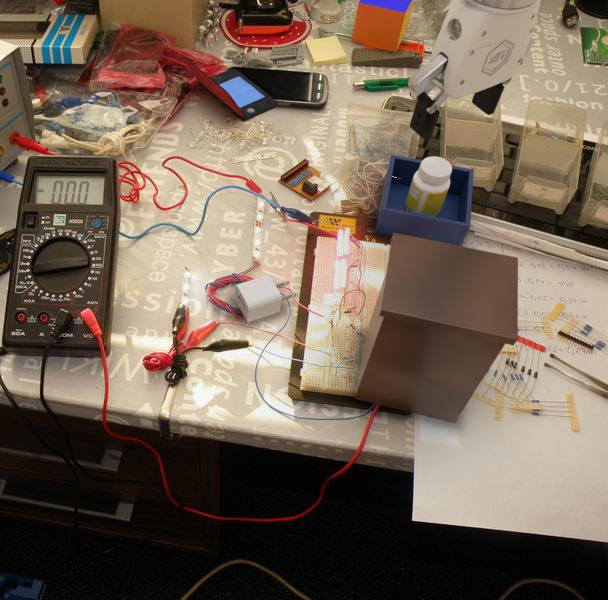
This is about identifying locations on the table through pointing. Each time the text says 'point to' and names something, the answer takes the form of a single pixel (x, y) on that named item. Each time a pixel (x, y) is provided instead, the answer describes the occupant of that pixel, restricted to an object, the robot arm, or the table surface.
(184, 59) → the handheld console
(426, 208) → the supplement bottle
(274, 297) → the usb wall charger
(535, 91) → the table surface
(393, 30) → the cube
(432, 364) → the walnut stand
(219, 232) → the table surface
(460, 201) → the parts bin
